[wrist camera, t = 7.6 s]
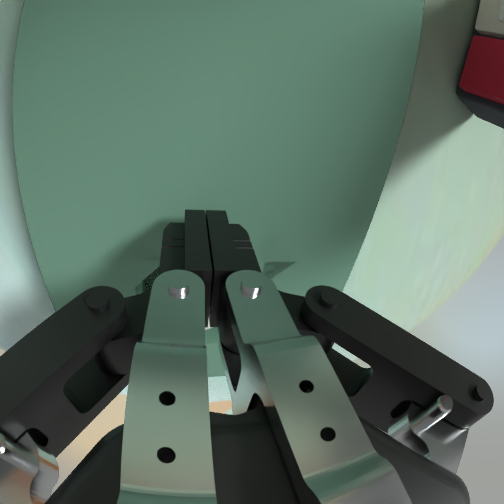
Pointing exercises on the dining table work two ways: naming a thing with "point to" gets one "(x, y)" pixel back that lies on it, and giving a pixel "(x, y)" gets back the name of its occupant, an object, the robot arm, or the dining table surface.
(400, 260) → the dining table surface
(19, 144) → the putting board
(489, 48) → the calculator
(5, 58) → the dining table surface
